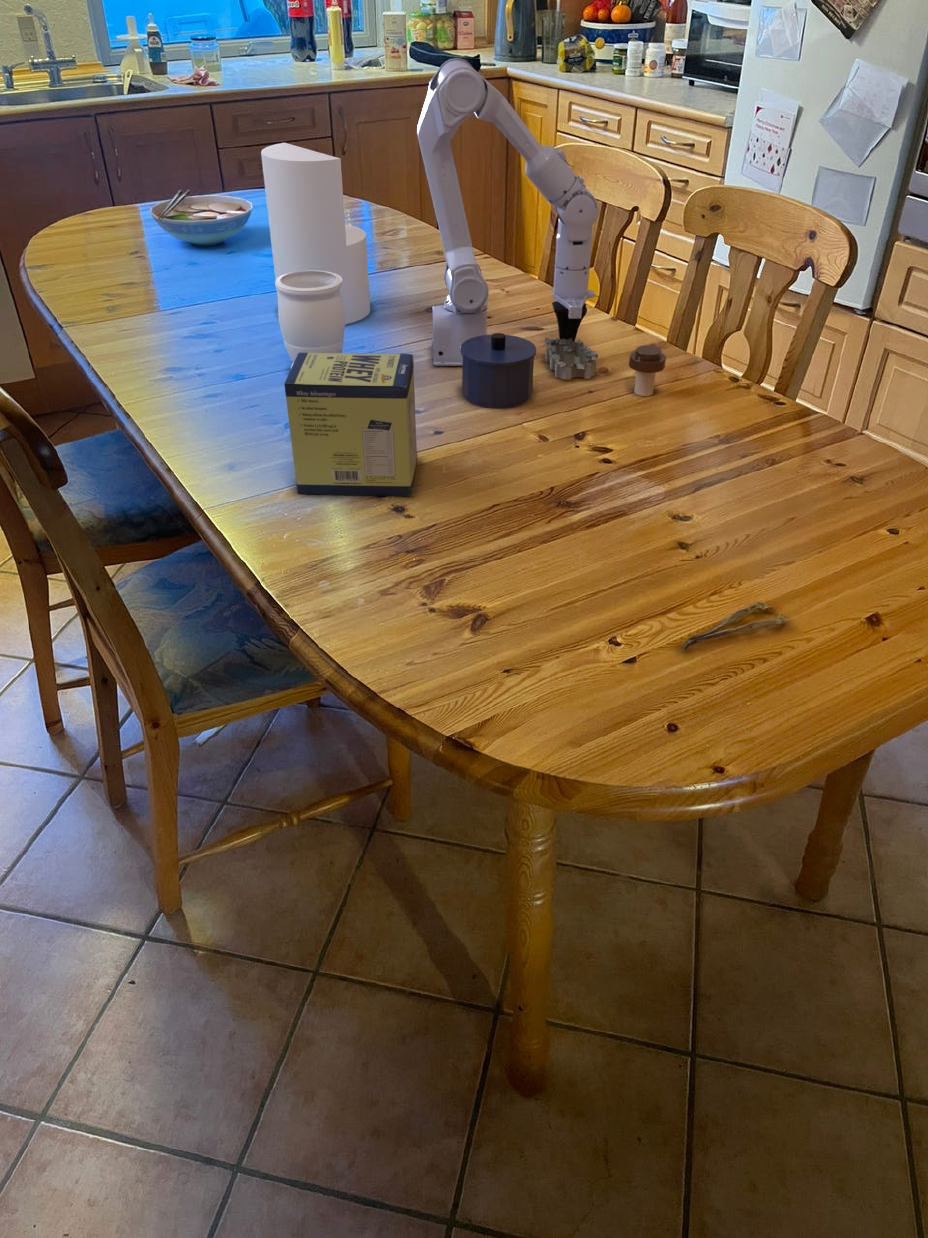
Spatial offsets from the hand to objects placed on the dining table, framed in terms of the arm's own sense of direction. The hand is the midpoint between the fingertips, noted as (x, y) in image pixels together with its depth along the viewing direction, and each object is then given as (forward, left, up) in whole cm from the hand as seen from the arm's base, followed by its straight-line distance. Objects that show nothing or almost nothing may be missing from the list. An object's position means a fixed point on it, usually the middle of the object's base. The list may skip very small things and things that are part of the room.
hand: (566, 345), depth 164 cm
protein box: (-34, -44, -2) cm, 55 cm away
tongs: (+8, -80, -2) cm, 80 cm away
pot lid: (-13, -17, +6) cm, 22 cm away
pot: (-13, -17, -1) cm, 21 cm away
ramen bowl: (-75, +69, -2) cm, 102 cm away
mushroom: (+10, -17, -1) cm, 20 cm away
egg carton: (0, -6, -2) cm, 7 cm away
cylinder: (-44, +22, -2) cm, 49 cm away
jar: (-43, -7, -2) cm, 43 cm away
